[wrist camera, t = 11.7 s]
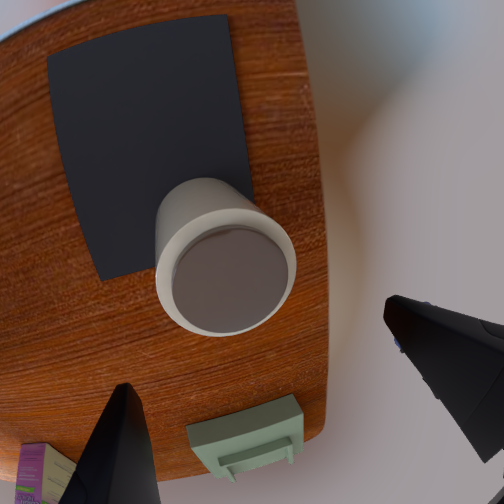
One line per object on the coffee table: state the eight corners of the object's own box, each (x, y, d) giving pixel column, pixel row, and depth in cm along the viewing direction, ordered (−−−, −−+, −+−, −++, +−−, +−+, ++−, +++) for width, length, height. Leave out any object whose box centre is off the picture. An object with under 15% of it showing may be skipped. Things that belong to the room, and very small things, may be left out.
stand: (292, 393, 29) (308, 421, 25) (294, 434, 34) (306, 458, 30) (185, 425, 26) (193, 457, 23) (210, 460, 31) (218, 486, 28)
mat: (225, 15, 13) (226, 14, 13) (258, 237, 20) (259, 239, 20) (48, 57, 11) (46, 56, 10) (101, 279, 17) (101, 281, 17)
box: (19, 443, 21) (13, 517, 11) (45, 441, 22) (42, 523, 12) (68, 476, 26) (71, 540, 16) (95, 474, 27) (102, 543, 17)
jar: (242, 168, 17) (296, 197, 11) (255, 255, 20) (304, 320, 13) (144, 190, 16) (135, 235, 9) (169, 278, 19) (180, 358, 12)
